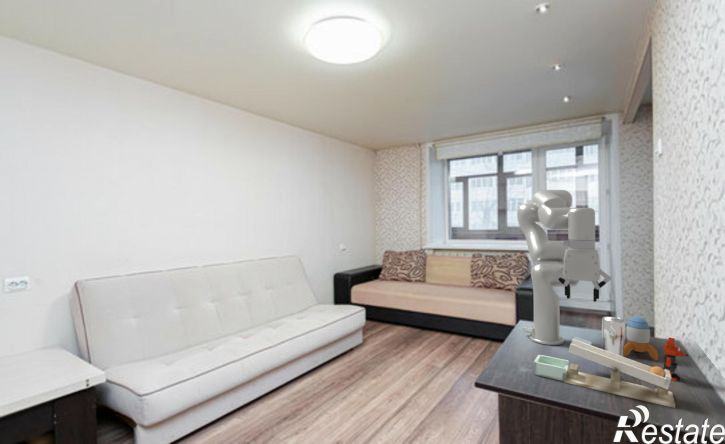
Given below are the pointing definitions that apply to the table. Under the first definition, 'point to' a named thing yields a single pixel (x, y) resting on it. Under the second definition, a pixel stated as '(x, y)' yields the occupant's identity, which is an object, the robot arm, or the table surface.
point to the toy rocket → (639, 338)
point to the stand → (619, 386)
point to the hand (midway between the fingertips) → (581, 299)
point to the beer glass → (614, 334)
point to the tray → (551, 367)
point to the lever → (619, 363)
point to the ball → (657, 371)
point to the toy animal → (672, 357)
